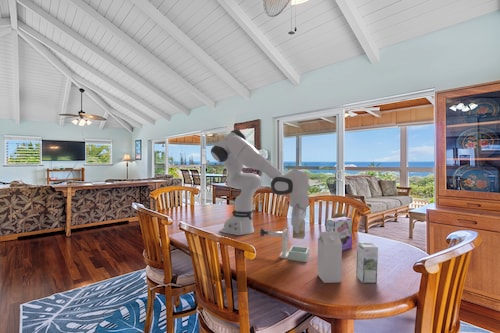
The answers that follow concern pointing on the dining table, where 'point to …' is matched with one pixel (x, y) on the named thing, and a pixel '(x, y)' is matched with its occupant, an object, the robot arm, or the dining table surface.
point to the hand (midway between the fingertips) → (298, 230)
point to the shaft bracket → (293, 250)
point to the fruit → (338, 215)
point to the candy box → (341, 230)
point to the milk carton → (329, 257)
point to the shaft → (270, 233)
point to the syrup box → (367, 262)
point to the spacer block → (302, 231)
